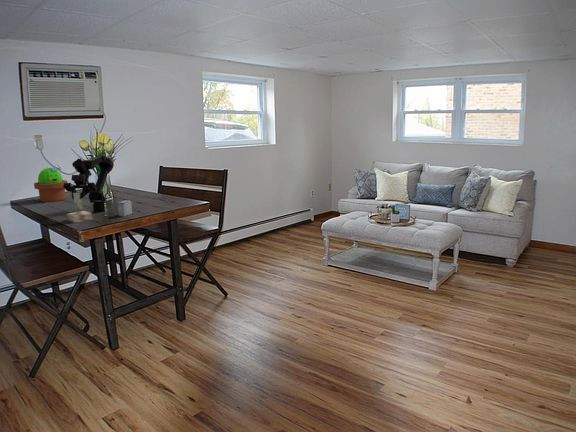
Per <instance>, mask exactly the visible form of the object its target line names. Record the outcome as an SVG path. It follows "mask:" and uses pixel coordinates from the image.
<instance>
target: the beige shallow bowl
mask: <svg viewBox="0 0 576 432" xmlns="http://www.w3.org/2000/svg"><path fill="white" fill-rule="evenodd" d="M66 220H67V221H69V222H71V223H73V224H76V223H82V222H86V221H92V220H94V216H93V213H92V212H90V211H86V210H79V211H74V212H70V213H66Z"/></svg>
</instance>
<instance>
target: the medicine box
mask: <svg viewBox="0 0 576 432" xmlns="http://www.w3.org/2000/svg"><path fill="white" fill-rule="evenodd" d="M132 205H133V203H132V200H128V199H127V200H126V199H125V200H122V201H119V202H117V209H118V211H117V212H118V217H126V216H129V215H132V214H133V207H132Z"/></svg>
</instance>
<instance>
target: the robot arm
mask: <svg viewBox="0 0 576 432" xmlns="http://www.w3.org/2000/svg"><path fill="white" fill-rule="evenodd" d="M71 165H72V167H73V169H74V170H75V171H76V172H77V173H78V174H72V175H71V181H72V182H73V183H72V182H67V183H64V185H63V187H64V188H65V192H71V199H72V200H74V197H73V193H74V192H78V191H77V189H79V190H80V189H82V191H81V196H80V199H82V200H83V198H84V197H85V196H87V195H88V199H89V202H90V203H92V211H93V212H94V213H102V212H104V213H105V212H106V209H105V208H106V207H105V203H106V202H107V197H106V196H105V193H104V191H103V189H104V186H105V183H106V181H107V179H108V175H109V173H110V172H112V171H113V168H114V166H115V165H114V162H113V160H112V159H110V158H109V157H107V156H106V155H105V154H101V155H100V154H99V155H98V154H97V155H96V156H94V157H92V158H91V159H83V160H82V158H77V159H76V160H75V161H73V162H72V164H71ZM97 165H98V168H99V169H100V171H99V174H98V177H97V180H96V181H95V182H96V183H95V182H90V181H89V177H91V176H93V175H92V172H91V170H94V169H95V168H96V166H97Z"/></svg>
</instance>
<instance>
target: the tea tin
mask: <svg viewBox="0 0 576 432" xmlns="http://www.w3.org/2000/svg"><path fill="white" fill-rule="evenodd" d="M81 193H82V191H77V192H74V193H73V197H74V199H73V201H74V209H75V211H76V210H77V211H78V210H79V211H82V210H84V204H83V203H84V202H83V198H82V199H80V196H81Z"/></svg>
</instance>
